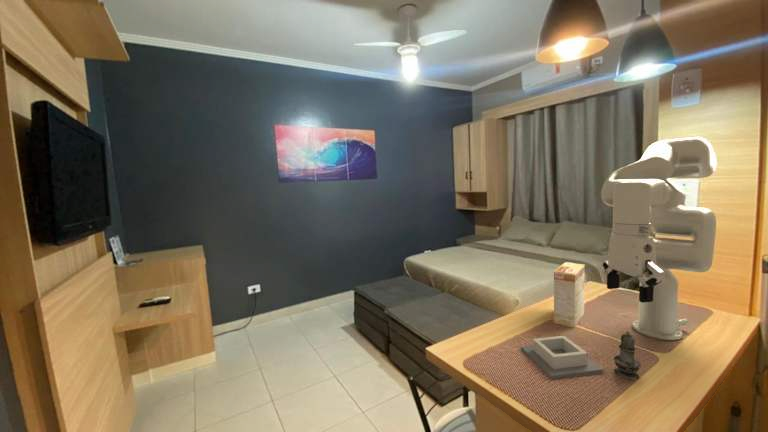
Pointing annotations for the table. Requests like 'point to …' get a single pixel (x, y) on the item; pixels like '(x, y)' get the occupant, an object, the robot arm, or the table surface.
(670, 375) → the table surface
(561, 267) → the coffeecake box
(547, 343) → the socket
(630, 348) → the grey turned piece
